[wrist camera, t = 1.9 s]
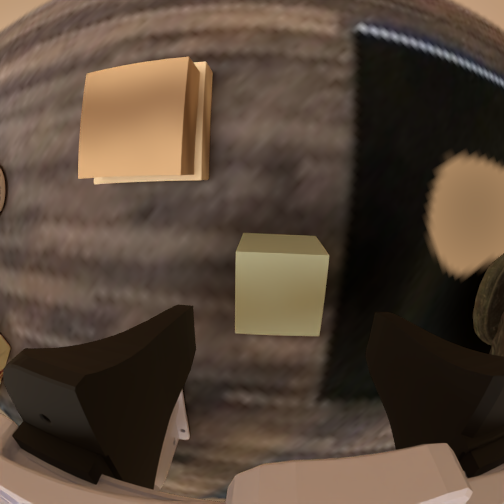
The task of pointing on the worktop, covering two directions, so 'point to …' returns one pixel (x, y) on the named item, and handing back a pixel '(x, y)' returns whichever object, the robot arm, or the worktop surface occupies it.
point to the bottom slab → (200, 141)
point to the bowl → (491, 308)
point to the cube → (280, 284)
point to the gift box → (3, 354)
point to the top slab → (139, 120)
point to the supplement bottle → (2, 189)
